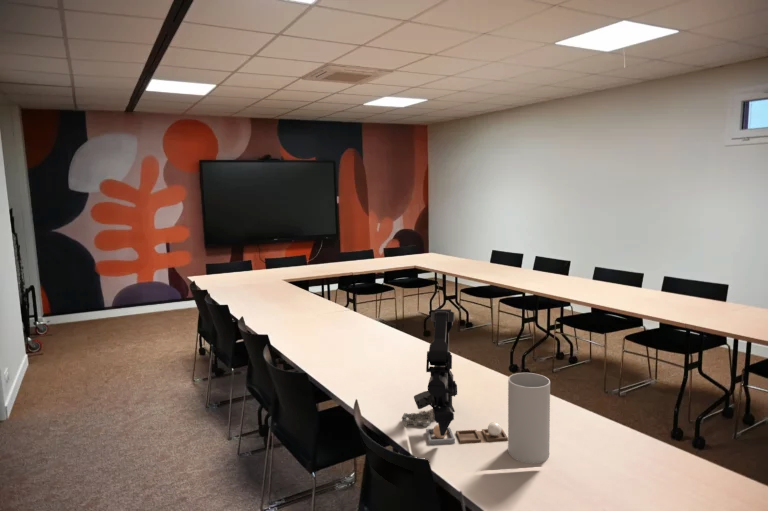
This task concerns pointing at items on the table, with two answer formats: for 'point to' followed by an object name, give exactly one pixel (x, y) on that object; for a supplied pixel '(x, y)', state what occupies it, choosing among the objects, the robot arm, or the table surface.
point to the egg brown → (438, 432)
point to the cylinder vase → (528, 417)
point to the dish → (440, 441)
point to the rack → (479, 436)
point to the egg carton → (414, 415)
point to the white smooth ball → (494, 429)
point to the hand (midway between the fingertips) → (439, 428)
